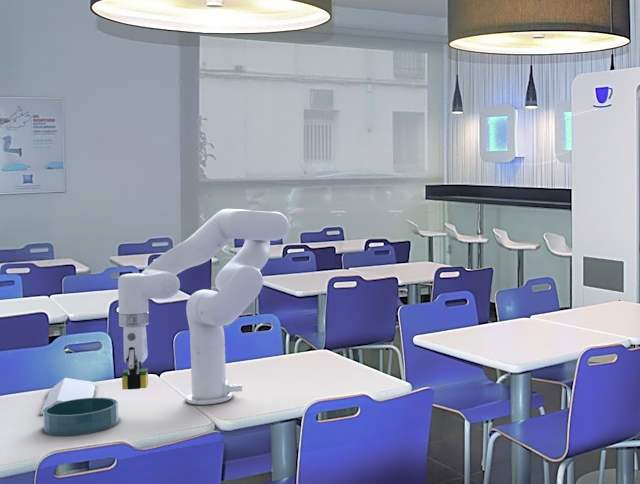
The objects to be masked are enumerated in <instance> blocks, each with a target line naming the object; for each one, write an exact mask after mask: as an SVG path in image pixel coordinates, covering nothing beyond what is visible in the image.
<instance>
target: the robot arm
mask: <svg viewBox="0 0 640 484" xmlns="http://www.w3.org/2000/svg"><path fill="white" fill-rule="evenodd" d="M289 230H290V222H289V220H288V218H287V216H286V215H284V214H283V213H282V212H278V211H265V210H264V211H262V210H250V209H240V208H239V209H238V208H237V209H236V208H224V209H221V210H219V211H217V212H216V213H215V214H214V215H212V216H211V217H210V218H209V219H208V220H207V221H206V222H205V223H204V224H203V225H201V226H200V227H199V228H198V229H197V230H196V231H195V232H194V233H192V235H190V236H189V237H188V238H187V239H185V240H184V241H182V242H180V243H178V244H176V245H175V246H174V247H172V248H170V249H169V250H167V251H165V252H164V253H162V254H161V255H160V256H158V257H156V258H155V259H154V261H152V262H151V263H150V264H149V265H148V266H146V268H144V269H143V270H142V271H141V272H136V273H135V272H134V273H133V272H132V273H125V274H121V275H120V276H119V277H118V279H117V293H118V295H117V296H118V326H119V327H121V328H123V330H122V331H123V334H122V335H123V337H122V339H123V361H124V364H127V370H128V375H127V381H128V389H127V390H140V389H141V388H140V387H141V382H140V374H139V369H143V364H144V362H145V361H146V360H147V358H148V355H149V352H148V336H147V327H146V326H148V325H150V324H149V323H150V316H149V313H150V312H149V300H150V299H151V300H152V299H154V300H165V299H167V300H168V299H170V298H172V297H174V296H175V295H176V294H178V293H179V291H180V288H181V282H180V279H179V277H178V276H177V275H178V274H181V273H182V272H184V271H186V270H188V269H191V268H193V267H197V266H200V265H202V264H204V263H207V262H209V261H210V260H211V259H212V258H214V256H215V255H216V254H218V252H220V251H221V250H222V249H223V248H224V247H225V246H226V245H227V244H229V243H230V241H232V240H233V239H236V240H244V243H243V245H242V247H241V248H240V249H239V251H238V252H237V253H236V254H235V255H234V256H233V257H232V258H231V259H230V260H229V261H227V263H226V264H225V265H224V266H223V267H222V268H221V269H220V270H219V271H218V272H217V274H216V276H215V279H214V280H215V281H214V284H215V285H214V286H215V287H216V289H217V290H218V291H217V290H213V289H200V290H197V291H195V292H193V293H192V294H191V295H190V296H189V297H188V299H187V301H186V305H185V311H186V318H187V323H188V330H189V341H190V342H189V345H190V346H189V348H190V373H191V377H190V378H191V394H188V395H187V396H186V397H185V398H186V402H187V403H188V404H190V405H198V406H199V405H200V406H201V405H202V406H203V405H215V404H220V403H224V402H228V401H229V400H231V399H232V398H233V393H241V392H243V384H239V383H235V384H231V383H229V381H228V379H227V367H226V337H225V330H224V327H226V326H229V325H230V324H232V323H233V322H234V321H236V320H237V319H238V318H239V317H240V316H241V315H242V313H243V312H245V310H246V309H247V308H248V307H249V306H250V305H251V304H252V303H253V302H254V301H255V300H256V298H257V297H258V296H259V295H260V293H261V291H262V288H263V286H264V277H263V274H262V273H261V271H262V269H263V268H264V267H265V266H266V264H267V263H268V261H269V259H270V253H271V241H272V242H273V241H279V240H282V239H284V238H285V237H286V236H287V234H288V232H289Z"/></svg>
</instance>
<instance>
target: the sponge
mask: <svg viewBox="0 0 640 484" xmlns="http://www.w3.org/2000/svg"><path fill="white" fill-rule="evenodd" d="M139 374H140V382H141V387H140V389H147V387H148V385H149V368H142V369H139ZM127 375H128V369H124V370H123V371H122V372H121V386H122V389H121V390H129V389H128V381H127Z"/></svg>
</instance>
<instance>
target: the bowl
mask: <svg viewBox="0 0 640 484" xmlns="http://www.w3.org/2000/svg"><path fill="white" fill-rule="evenodd" d="M42 417H43V418H42V421H43V431H44V433H46V434H48V435H53V436H78V435H85V434H93V433H96V432H100V431H104V430H107V429H110V428H112V427H113V426H115V425H117V424H118V422H119V404H118V401H117V399H114V398H109V397H93V398H82V399H74V400H69V401H64V402H60V403H56V404H53V405H51V406H49V407H46V408H45V409H44V410H43V414H42Z"/></svg>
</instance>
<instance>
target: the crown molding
mask: <svg viewBox="0 0 640 484" xmlns="http://www.w3.org/2000/svg"><path fill="white" fill-rule="evenodd" d="M95 391H96V384H95V383H94V382H93V381H91V380H83V379H76V378H71V377H70V378H69V377H64V378H62V379H61V380H60V381H59V382H57V383H56V384H55V385H54V386H52V387H51V388H50V389H49V391H48V394H47V396H46V399H45V401H44V404H43V406H42V407H41V408H42V409H41V410H40V416H43V410H44V409H45V408H46V407H49V406H51V405H53V404H56V403H60V402H64V401H69V400H74V399H82V398H94V395H95Z"/></svg>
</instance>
